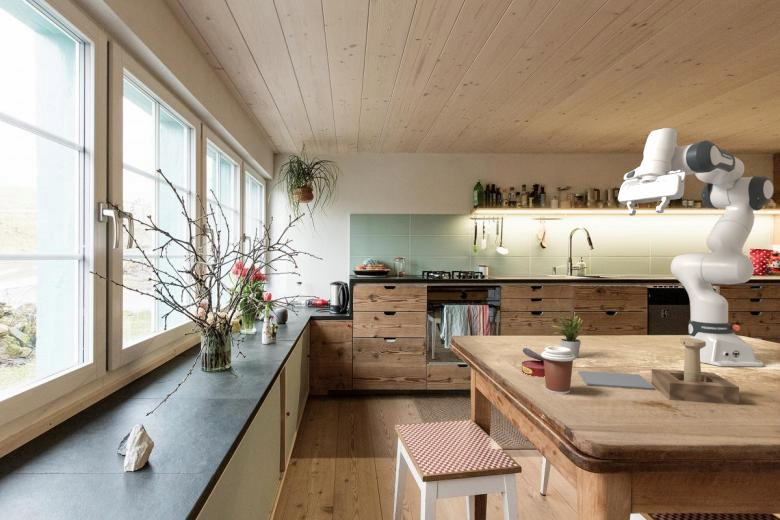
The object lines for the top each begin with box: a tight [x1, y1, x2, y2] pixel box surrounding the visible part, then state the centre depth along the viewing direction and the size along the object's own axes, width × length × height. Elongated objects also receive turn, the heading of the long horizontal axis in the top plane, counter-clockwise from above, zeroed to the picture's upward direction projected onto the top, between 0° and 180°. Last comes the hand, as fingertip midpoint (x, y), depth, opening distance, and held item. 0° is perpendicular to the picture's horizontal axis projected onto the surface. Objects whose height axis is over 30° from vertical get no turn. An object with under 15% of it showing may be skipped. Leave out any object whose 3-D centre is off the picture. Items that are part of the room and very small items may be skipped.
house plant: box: [550, 314, 589, 359], centre depth 166 cm, size 14×14×16 cm
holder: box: [651, 368, 740, 405], centre depth 122 cm, size 16×14×4 cm
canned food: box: [521, 347, 545, 378], centre depth 143 cm, size 11×10×10 cm
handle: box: [680, 337, 706, 382], centre depth 121 cm, size 5×6×15 cm
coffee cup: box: [540, 345, 576, 395], centre depth 124 cm, size 9×9×12 cm
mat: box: [578, 370, 656, 391], centre depth 134 cm, size 18×14×1 cm
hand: (645, 213), depth 141 cm, fingers open, 8 cm apart
